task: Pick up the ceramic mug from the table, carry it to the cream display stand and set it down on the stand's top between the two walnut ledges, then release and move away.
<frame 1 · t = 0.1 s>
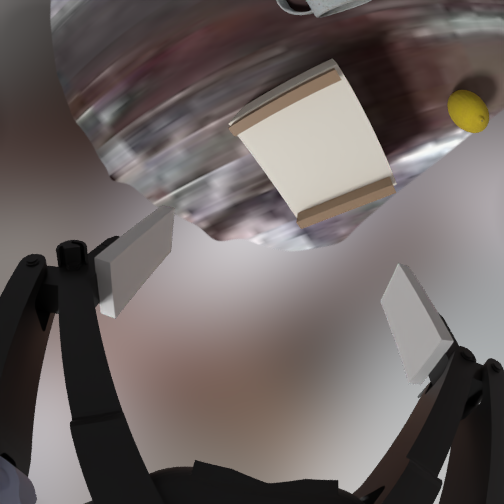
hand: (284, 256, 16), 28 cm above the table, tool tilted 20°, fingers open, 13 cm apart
lemon: (455, 102, 28), on the table
display stand: (317, 129, 36), on the table
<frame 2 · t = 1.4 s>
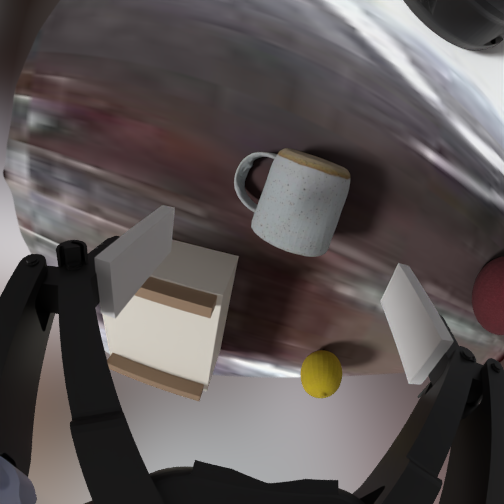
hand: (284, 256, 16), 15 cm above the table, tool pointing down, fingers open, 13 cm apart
decorative ball: (486, 275, 29), on the table
ceramic mug: (288, 188, 29), on the table
lemon: (320, 351, 38), on the table
display stand: (177, 295, 37), on the table
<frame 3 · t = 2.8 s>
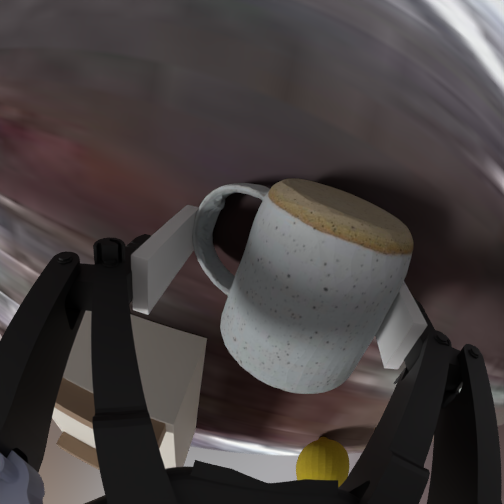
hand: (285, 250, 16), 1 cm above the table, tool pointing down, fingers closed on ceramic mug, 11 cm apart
ceramic mug: (289, 243, 17), on the table, touching gripper
lemon: (323, 435, 26), on the table
display stand: (133, 371, 25), on the table
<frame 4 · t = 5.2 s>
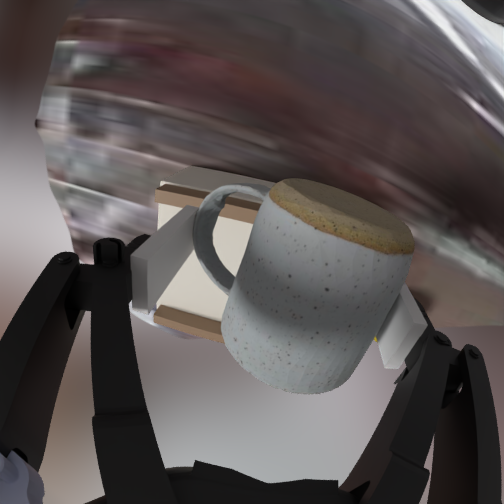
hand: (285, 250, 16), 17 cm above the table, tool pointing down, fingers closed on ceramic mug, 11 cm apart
ceramic mug: (290, 243, 17), point 16 cm above the table, touching gripper
display stand: (236, 239, 36), on the table
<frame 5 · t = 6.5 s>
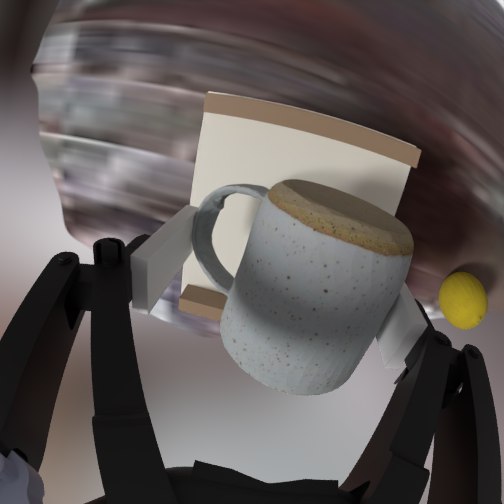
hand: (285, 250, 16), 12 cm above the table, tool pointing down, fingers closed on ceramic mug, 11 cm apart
ceramic mug: (289, 244, 17), point 11 cm above the table, touching gripper
lemon: (448, 279, 28), on the table
display stand: (289, 197, 27), on the table
when the fingers open (10 cm above the table, at t = 7.3 s): ceramic mug drops 2 cm, resting on display stand.
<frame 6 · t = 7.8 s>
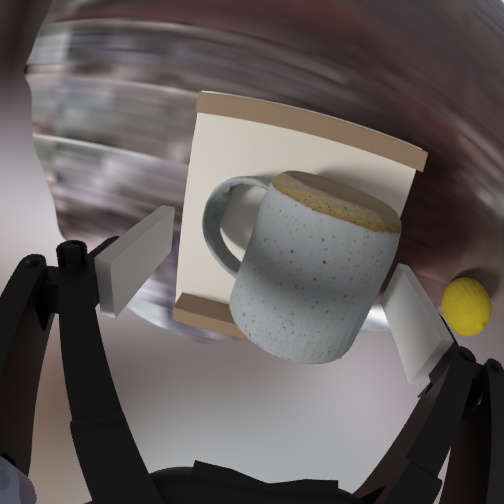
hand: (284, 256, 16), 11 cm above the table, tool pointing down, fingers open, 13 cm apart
ceramic mug: (291, 231, 19), point 8 cm above the table, touching display stand
lemon: (451, 284, 27), on the table
display stand: (288, 201, 26), on the table
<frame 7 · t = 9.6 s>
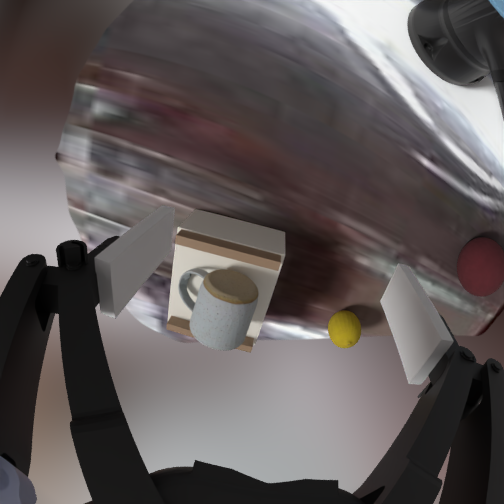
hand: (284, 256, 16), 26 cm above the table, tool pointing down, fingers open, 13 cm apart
decorative ball: (467, 253, 41), on the table
ceramic mug: (219, 290, 39), point 8 cm above the table, touching display stand
lemon: (340, 313, 49), on the table
display stand: (229, 265, 46), on the table
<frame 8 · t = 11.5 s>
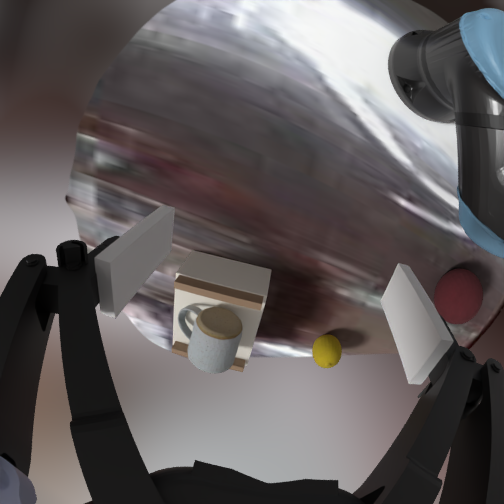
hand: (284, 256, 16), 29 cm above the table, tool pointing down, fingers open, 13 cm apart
decorative ball: (447, 281, 45), on the table
ceramic mug: (212, 321, 46), point 8 cm above the table, touching display stand
lemon: (325, 336, 54), on the table
display stand: (224, 296, 53), on the table
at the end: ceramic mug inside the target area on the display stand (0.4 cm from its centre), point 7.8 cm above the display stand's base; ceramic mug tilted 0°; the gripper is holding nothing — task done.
